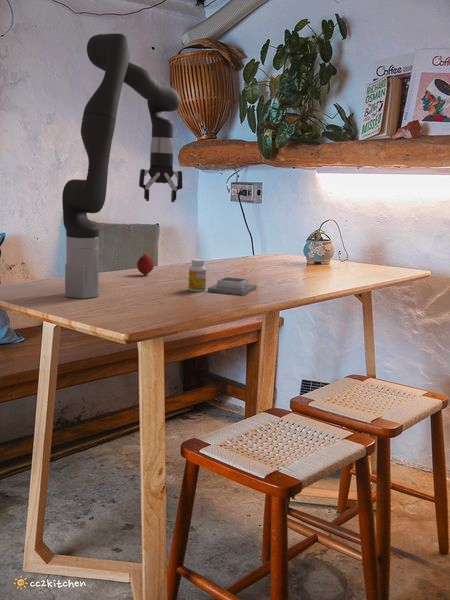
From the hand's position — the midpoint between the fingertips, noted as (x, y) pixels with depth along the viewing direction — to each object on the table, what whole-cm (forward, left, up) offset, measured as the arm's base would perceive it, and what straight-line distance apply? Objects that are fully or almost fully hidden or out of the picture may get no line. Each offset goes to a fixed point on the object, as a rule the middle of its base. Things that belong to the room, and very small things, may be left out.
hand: (160, 201), depth 228 cm
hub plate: (-7, -29, -26) cm, 40 cm away
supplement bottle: (-13, -19, -27) cm, 35 cm away
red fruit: (+5, +7, -27) cm, 28 cm away
